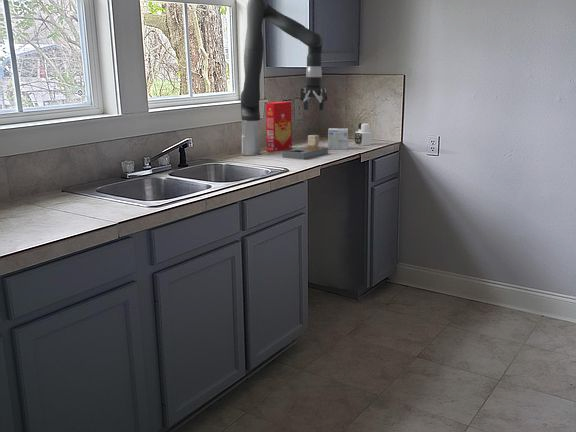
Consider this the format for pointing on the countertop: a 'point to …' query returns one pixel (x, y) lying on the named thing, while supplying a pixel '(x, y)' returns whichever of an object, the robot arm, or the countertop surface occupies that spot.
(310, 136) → the peg
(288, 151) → the grey flat block
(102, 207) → the countertop surface
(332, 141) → the light bulb box
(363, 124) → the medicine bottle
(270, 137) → the food packaging
